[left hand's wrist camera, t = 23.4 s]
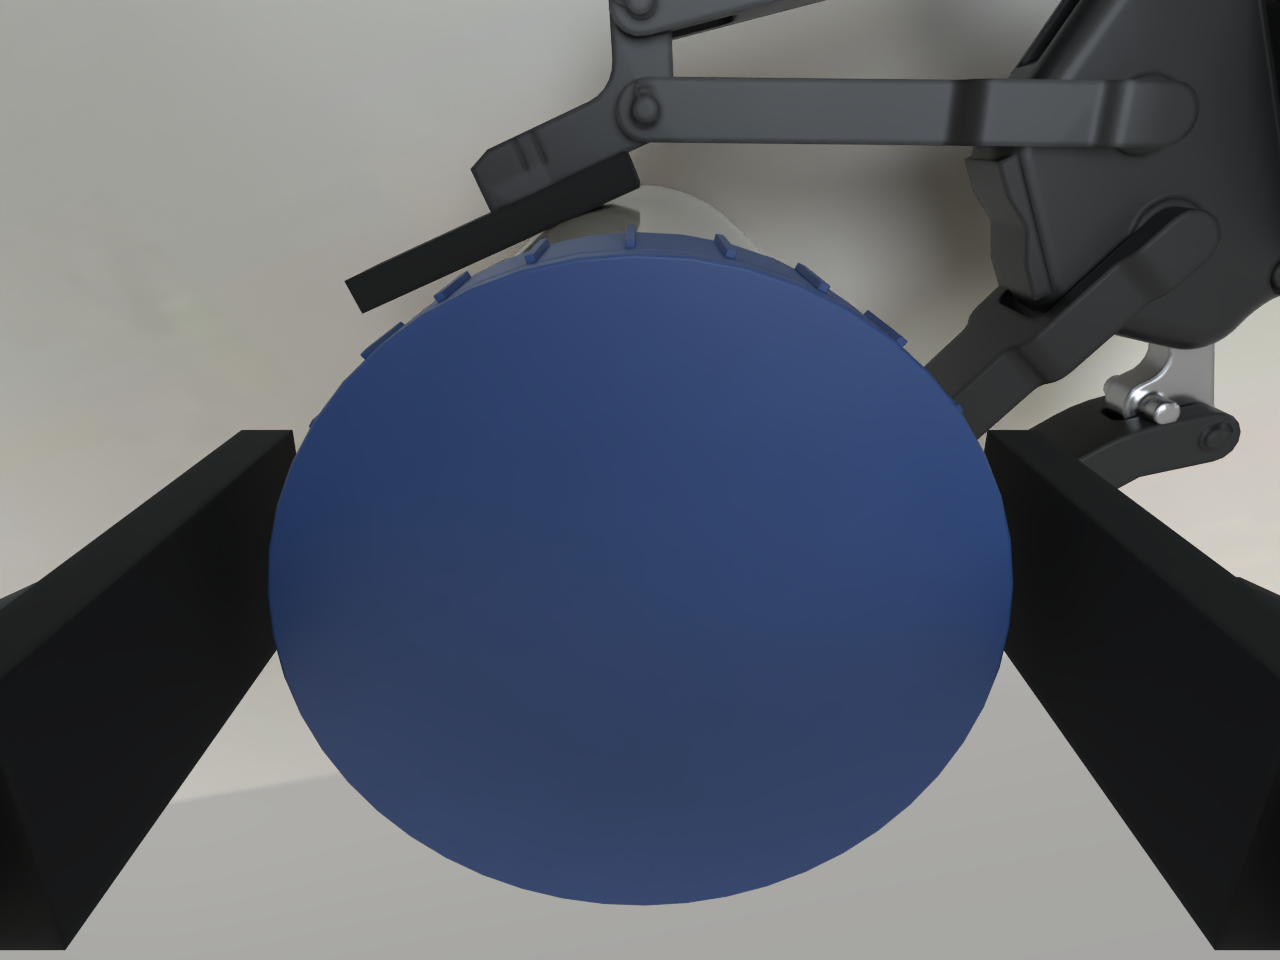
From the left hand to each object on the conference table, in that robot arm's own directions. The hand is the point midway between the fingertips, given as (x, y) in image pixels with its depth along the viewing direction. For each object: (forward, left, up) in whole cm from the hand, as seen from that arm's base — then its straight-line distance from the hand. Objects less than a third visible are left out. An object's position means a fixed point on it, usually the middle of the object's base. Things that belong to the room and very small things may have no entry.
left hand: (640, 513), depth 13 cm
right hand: (-5, 0, -8) cm, 9 cm away
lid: (0, 0, +3) cm, 3 cm away
